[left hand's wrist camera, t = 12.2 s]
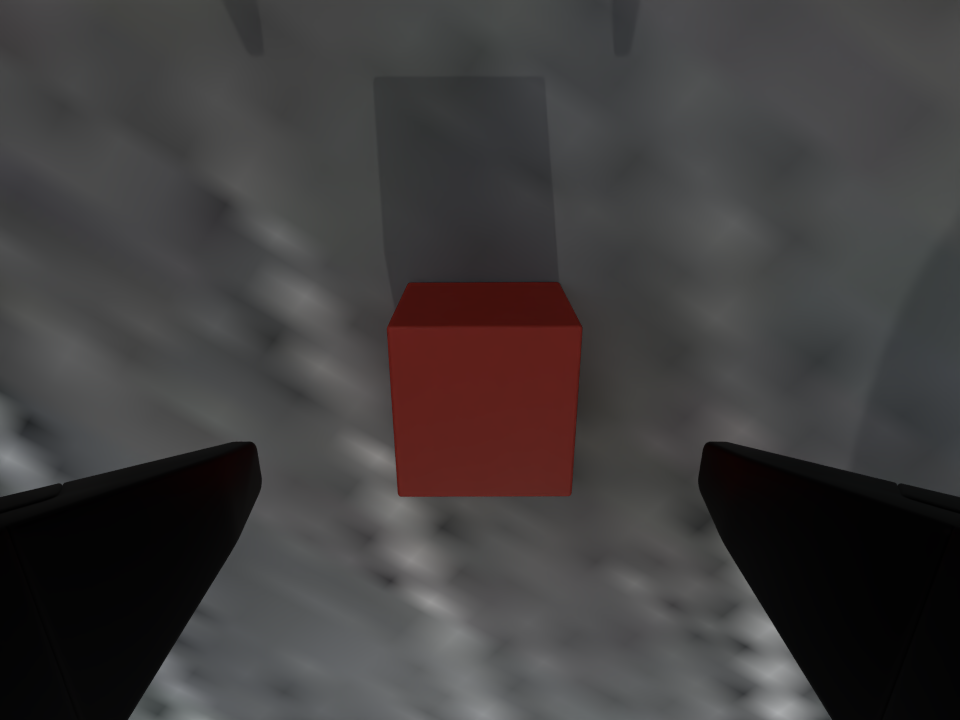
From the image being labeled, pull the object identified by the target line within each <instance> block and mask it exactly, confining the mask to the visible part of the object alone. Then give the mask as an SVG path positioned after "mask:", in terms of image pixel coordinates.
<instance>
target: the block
mask: <svg viewBox="0 0 960 720" xmlns="http://www.w3.org/2000/svg"><path fill="white" fill-rule="evenodd" d="M387 338H388V353H389V368H390V383H391V398H392V413H393V428H394V443H395V457H396V472H397V487H398V495H399V496H401V497H432V496H570V495H571V493H572V479H573V463H574V448H575V433H576V418H577V403H578V388H579V373H580V358H581V343H582V326H581V324H580V322H579V320H578V318H577V316H576V314H575V312H574V310H573V308H572V306H571V305H570V303H569V301H568V299H567V297H566V295H565V293H564V291H563V289H562V287H561V285H560V283H558V282H475V283H408V285H407V287H406V289H405V291H404V293H403V295H402V297H401V299H400V302H399V304H398V306H397V308H396V310H395V312H394V314H393V316H392V318H391V320H390V323H389V325H388V327H387Z"/></svg>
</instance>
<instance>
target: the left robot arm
mask: <svg viewBox="0 0 960 720" xmlns="http://www.w3.org/2000/svg"><path fill="white" fill-rule="evenodd" d="M261 484H262V477H261V471H260V464H259V458H258V452H257V448H256V445H255V444H254V443H253V442H231V443H227V444H223V445H218V446H214V447H210V448H206V449H202V450H198V451H194V452H190V453H185V454H181V455H177V456H173V457H169V458H165V459H161V460H156V461H152V462H148V463H144V464H140V465H136V466H132V467H128V468H123V469H119V470H115V471H111V472H107V473H103V474H99V475H95V476H90V477H86V478H82V479H78V480H74V481H70V482H66V483H64V484H63V486H62V484H60V483H58V484H54V485H50V486H46V487H42V488H38V489H33V490H29V491H25V492H20V493H16V494H12V495H8V496H3V497H0V720H128V719H129V717H130V715H131V714H132V712H133V711H134V709H135V707H136V706H137V704H138V702H139V701H140V699H141V698H142V696H143V694H144V693H145V691H146V689H147V688H148V686H149V685H150V683H151V681H152V680H153V678H154V677H155V675H156V673H157V672H158V670H159V668H160V667H161V665H162V664H163V662H164V660H165V659H166V657H167V655H168V654H169V652H170V651H171V649H172V647H173V646H174V644H175V642H176V641H177V639H178V638H179V636H180V634H181V633H182V631H183V629H184V628H185V626H186V625H187V623H188V621H189V620H190V618H191V616H192V615H193V613H194V612H195V610H196V608H197V607H198V605H199V603H200V602H201V600H202V599H203V597H204V595H205V594H206V592H207V591H208V589H209V587H210V586H211V584H212V582H213V581H214V579H215V578H216V576H217V574H218V573H219V571H220V569H221V568H222V566H223V565H224V563H225V561H226V560H227V558H228V556H229V555H230V553H231V551H232V550H233V548H234V546H235V545H236V543H237V541H238V539H239V537H240V535H241V533H242V530H243V528H244V526H245V524H246V521H247V519H248V517H249V515H250V513H251V510H252V508H253V506H254V504H255V501H256V499H257V497H258V495H259V492H260V490H261ZM698 484H699V490H700V492H701V495H702V497H703V499H704V501H705V504H706V506H707V508H708V510H709V513H710V515H711V517H712V519H713V521H714V524H715V526H716V528H717V530H718V533H719V535H720V537H721V539H722V541H723V543H724V545H725V546H726V548H727V550H728V551H729V553H730V555H731V556H732V558H733V560H734V561H735V563H736V565H737V566H738V568H739V569H740V571H741V573H742V574H743V576H744V577H745V579H746V581H747V582H748V584H749V586H750V587H751V589H752V590H753V592H754V594H755V595H756V597H757V599H758V600H759V602H760V603H761V605H762V607H763V608H764V610H765V612H766V613H767V615H768V616H769V618H770V620H771V621H772V623H773V625H774V626H775V628H776V629H777V631H778V633H779V634H780V636H781V638H782V639H783V641H784V642H785V644H786V646H787V647H788V649H789V651H790V652H791V654H792V655H793V657H794V659H795V660H796V662H797V663H798V665H799V667H800V668H801V670H802V672H803V673H804V675H805V676H806V678H807V680H808V681H809V683H810V685H811V686H812V688H813V689H814V691H815V693H816V694H817V696H818V698H819V699H820V701H821V702H822V704H823V706H824V707H825V709H826V711H827V712H828V714H829V715H830V717H831V719H832V720H960V497H957V496H952V495H948V494H944V493H940V492H935V491H931V490H927V489H923V488H918V487H914V486H910V485H906V484H902V483H900V484H898V486H897V484H896V483H894V482H890V481H886V480H882V479H878V478H874V477H870V476H866V475H861V474H857V473H853V472H849V471H845V470H841V469H837V468H833V467H828V466H824V465H820V464H816V463H812V462H808V461H804V460H799V459H795V458H791V457H787V456H783V455H779V454H775V453H771V452H766V451H762V450H758V449H754V448H750V447H746V446H742V445H737V444H733V443H729V442H707V443H706V444H705V445H704V448H703V452H702V458H701V464H700V471H699V477H698Z"/></svg>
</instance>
